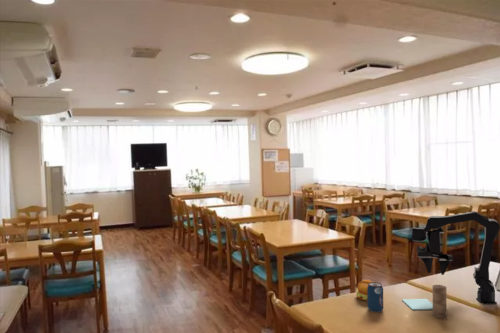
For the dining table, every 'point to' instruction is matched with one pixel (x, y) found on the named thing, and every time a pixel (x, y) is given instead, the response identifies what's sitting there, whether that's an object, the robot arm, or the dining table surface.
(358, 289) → the cheeseburger
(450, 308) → the dining table surface
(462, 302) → the dining table surface
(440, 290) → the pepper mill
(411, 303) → the board
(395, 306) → the dining table surface
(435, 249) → the robot arm
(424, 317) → the dining table surface
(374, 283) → the soda can
